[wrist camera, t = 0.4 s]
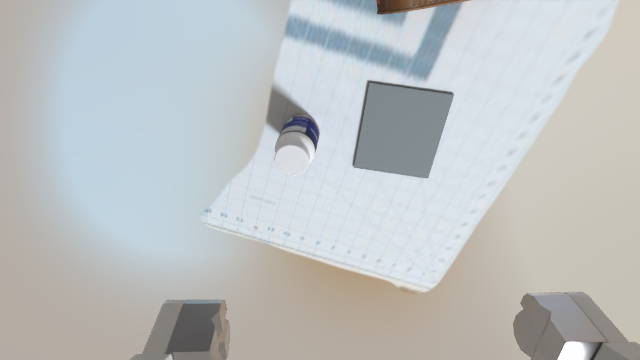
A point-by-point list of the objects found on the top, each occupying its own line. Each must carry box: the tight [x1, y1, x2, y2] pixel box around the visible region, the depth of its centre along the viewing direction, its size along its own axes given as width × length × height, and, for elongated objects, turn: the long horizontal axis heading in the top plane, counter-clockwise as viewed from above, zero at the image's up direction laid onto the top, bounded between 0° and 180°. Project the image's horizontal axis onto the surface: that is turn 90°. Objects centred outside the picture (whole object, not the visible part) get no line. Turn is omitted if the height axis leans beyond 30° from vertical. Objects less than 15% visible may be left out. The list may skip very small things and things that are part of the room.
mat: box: [354, 82, 454, 178], centre depth 58 cm, size 14×12×1 cm
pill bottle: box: [275, 115, 320, 175], centre depth 55 cm, size 6×6×10 cm
